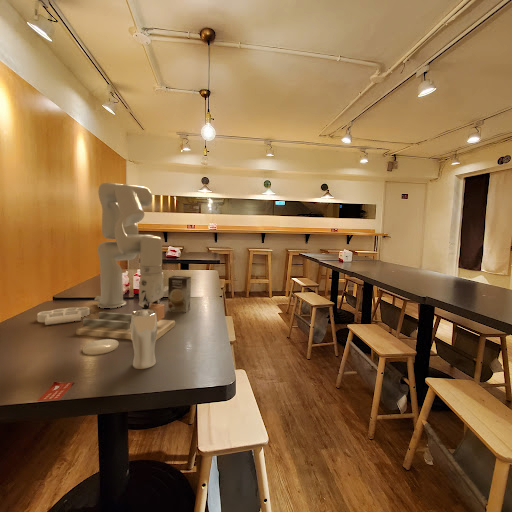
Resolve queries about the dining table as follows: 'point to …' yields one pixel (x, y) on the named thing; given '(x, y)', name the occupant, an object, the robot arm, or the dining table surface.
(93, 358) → the dining table surface
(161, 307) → the block
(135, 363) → the beer glass
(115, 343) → the coaster
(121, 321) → the board
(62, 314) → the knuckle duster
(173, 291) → the coffee box
